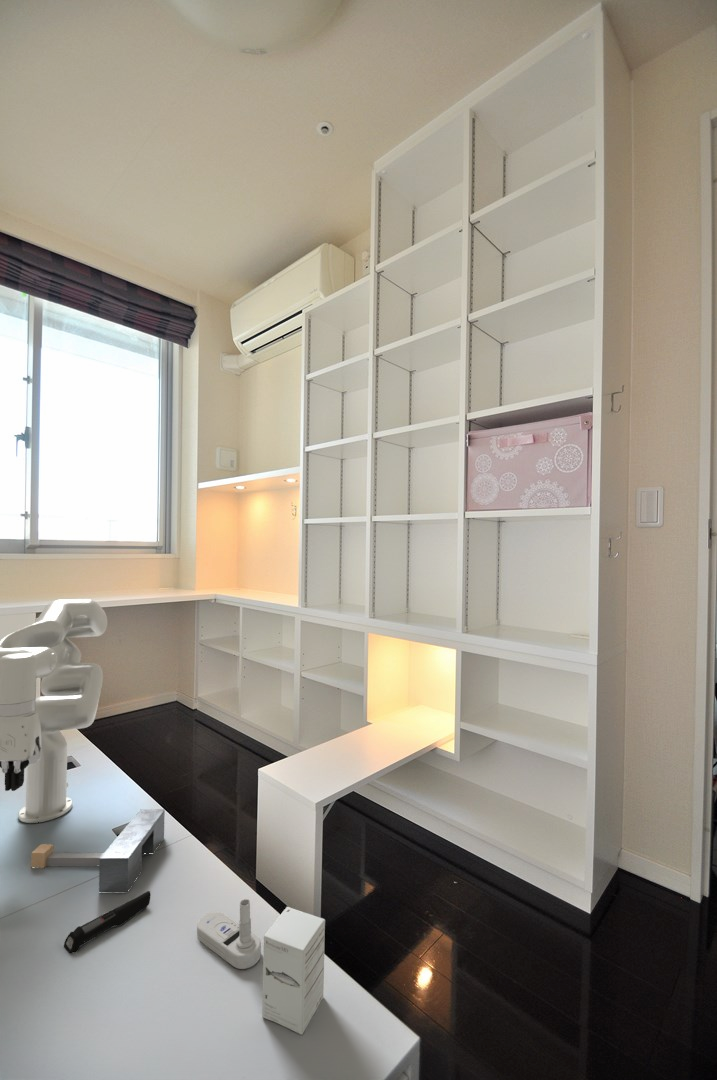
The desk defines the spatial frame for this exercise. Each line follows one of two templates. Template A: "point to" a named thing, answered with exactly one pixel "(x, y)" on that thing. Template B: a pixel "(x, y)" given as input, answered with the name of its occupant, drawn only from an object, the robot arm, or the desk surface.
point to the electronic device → (231, 937)
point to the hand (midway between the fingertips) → (14, 787)
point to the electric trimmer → (105, 922)
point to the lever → (62, 857)
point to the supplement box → (293, 969)
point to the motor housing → (130, 850)
